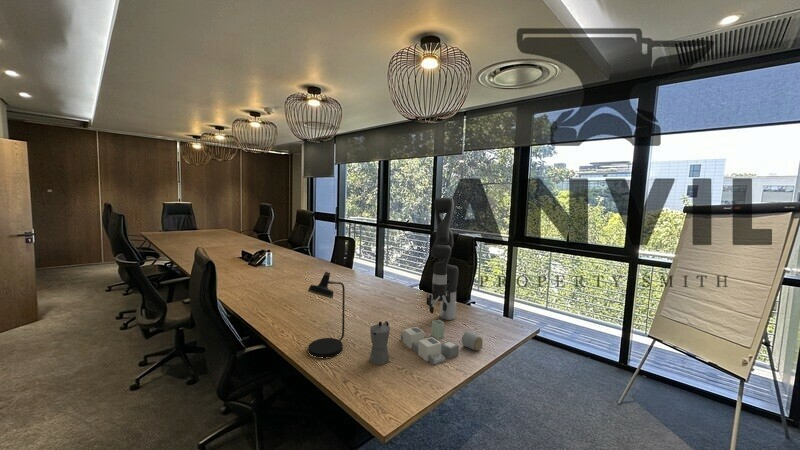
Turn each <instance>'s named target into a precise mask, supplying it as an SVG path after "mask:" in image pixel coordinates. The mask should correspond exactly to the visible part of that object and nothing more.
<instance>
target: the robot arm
mask: <svg viewBox="0 0 800 450" xmlns="http://www.w3.org/2000/svg"><path fill="white" fill-rule="evenodd" d="M454 210H455V202H454V198H453V197H446V196H445V197H436V198H434V212H435V220H436V227H437V228H436V233H435V239H434V243H433V245H432V247H431V249H430V255H431V257H432V258H434V259H439V260H438V262H437V261H436V262H434V263H433V274H432V284H431V285H432V286H431V287H432V288H431V290H432V292H431V293H427V295H426V302H425V303H426V305H427V306H429V313H430V314H434V313H435V312H434V310H435V308H434V307H435V305H436V304H437V303H439V302H440V307H439V308H440V310H439V311H440V312H439V317H440V318H441V319H443V320H445V321H446V320H447V321H452V320H455V319H456V318H457V309H458V303H457V287H458V285H459V284H458V281H459V272H460V271H459V268H458V266H457V265H452V264H449V261H450V258H451V256H452V249H453V247H454V245H455V243H454V234H453V232H452V230H451V225H452V219H453V215H454ZM443 214H446V215H445V216H444V218H443ZM447 281H448V282H447Z"/></svg>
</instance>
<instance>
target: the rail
mask: <svg viewBox="0 0 800 450" xmlns="http://www.w3.org/2000/svg"><path fill="white" fill-rule="evenodd" d="M400 339H401V340H400V341H401V342H403V333H400ZM418 346H419V343H416V344H415V343H414V342H413V343H412V350H413V351H414V352H416V353H417V354H418ZM427 362H428V363H430V364H431V365H432V366H435V365H438V364H441V363H444V362H446V357H445V356H444V355H442V354H437V355H434V356H431V355H428V361H427Z"/></svg>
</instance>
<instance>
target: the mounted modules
mask: <svg viewBox="0 0 800 450" xmlns="http://www.w3.org/2000/svg"><path fill="white" fill-rule="evenodd" d="M402 334H403V341H402V343H403V344H404V345H405V346H407V348H409V349H410V350H411V349H412V343H413V342H414V343H415V344H416V343H419V346H418V353H417V355H418V356H419V357H420V358H422V359H423V360H424V361H426V362H428V355H431V356H434V355H437V354H441V344H442V342H440V341H439V340H438V339H436V338H435V337H433V336H430V337H427V338H425V331H424V330H423V329H421V328H419V327H418V326H414V327H409V328H405V329H403V333H402ZM412 350H413V349H412ZM441 355H442V354H441Z"/></svg>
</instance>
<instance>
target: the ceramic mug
mask: <svg viewBox="0 0 800 450" xmlns="http://www.w3.org/2000/svg"><path fill="white" fill-rule="evenodd" d="M461 344H462V346H464V347H466V348H469V349H471V350H473V351H476V352H477V351H479V350H481V348H482V346H483V338H482V337H481V336H480V335H479V334H476V333H474V332H472V331H470V330H466V331H465V332H464V333H463V335H462V337H461Z"/></svg>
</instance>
